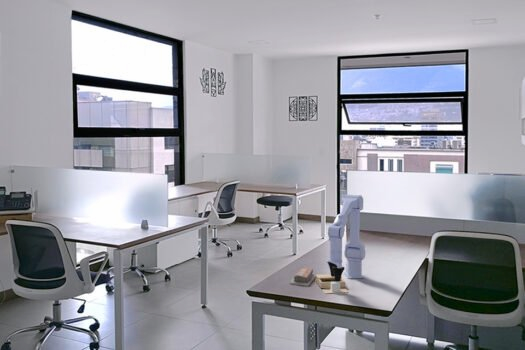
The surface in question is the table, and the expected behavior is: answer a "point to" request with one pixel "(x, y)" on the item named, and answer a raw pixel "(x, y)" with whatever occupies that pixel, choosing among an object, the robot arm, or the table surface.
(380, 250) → the table surface
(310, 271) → the packaged product
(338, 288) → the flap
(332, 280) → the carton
